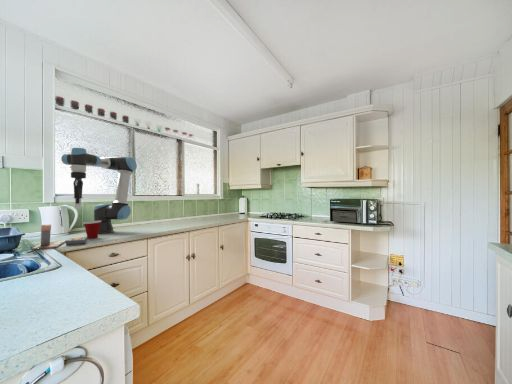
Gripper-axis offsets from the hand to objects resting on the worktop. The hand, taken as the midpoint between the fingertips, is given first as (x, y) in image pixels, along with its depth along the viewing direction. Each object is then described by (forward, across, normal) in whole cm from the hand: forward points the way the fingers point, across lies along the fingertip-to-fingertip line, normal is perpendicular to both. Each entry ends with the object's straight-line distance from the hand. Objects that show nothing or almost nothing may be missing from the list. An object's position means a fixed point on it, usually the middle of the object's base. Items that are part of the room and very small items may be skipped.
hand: (77, 208), depth 141 cm
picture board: (+22, 0, -13) cm, 26 cm away
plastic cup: (+23, -17, +5) cm, 29 cm away
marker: (+21, +5, -14) cm, 26 cm away
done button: (+21, 0, 0) cm, 21 cm away
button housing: (+22, 0, 0) cm, 22 cm away
